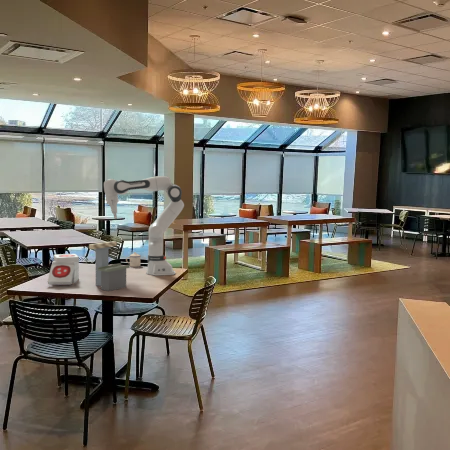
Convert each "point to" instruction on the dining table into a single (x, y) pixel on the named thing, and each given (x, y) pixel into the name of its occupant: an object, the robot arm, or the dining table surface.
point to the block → (102, 245)
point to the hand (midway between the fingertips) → (115, 218)
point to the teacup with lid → (134, 260)
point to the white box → (64, 269)
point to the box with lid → (113, 276)
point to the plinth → (101, 262)
